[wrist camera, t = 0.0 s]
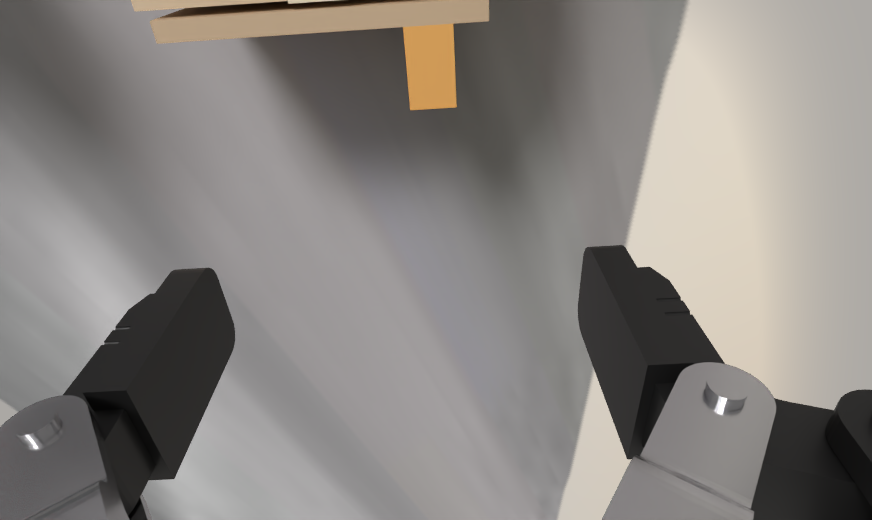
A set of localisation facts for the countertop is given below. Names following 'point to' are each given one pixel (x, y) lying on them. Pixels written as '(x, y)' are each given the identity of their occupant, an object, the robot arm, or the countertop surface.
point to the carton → (199, 3)
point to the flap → (352, 10)
